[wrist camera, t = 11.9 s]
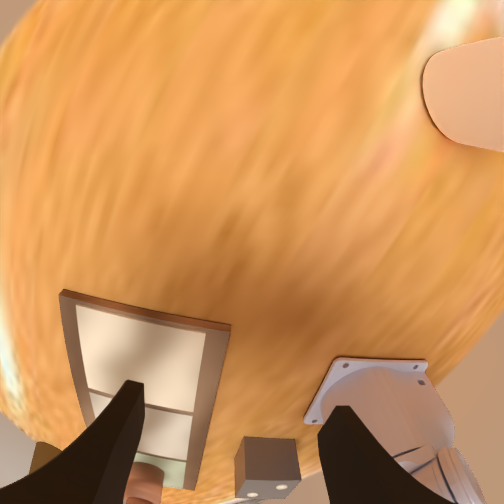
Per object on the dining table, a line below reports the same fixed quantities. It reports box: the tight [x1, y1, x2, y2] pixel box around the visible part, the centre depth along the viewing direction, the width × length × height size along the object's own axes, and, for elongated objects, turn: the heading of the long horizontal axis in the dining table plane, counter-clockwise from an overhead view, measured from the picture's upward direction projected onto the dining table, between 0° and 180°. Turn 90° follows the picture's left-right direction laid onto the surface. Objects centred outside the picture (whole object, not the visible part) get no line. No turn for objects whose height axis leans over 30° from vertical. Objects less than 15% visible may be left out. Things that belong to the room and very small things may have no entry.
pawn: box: [124, 462, 165, 504], centre depth 23 cm, size 4×4×6 cm
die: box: [235, 436, 301, 499], centre depth 24 cm, size 5×5×5 cm
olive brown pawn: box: [29, 442, 62, 474], centre depth 23 cm, size 6×6×11 cm
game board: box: [59, 289, 230, 490], centre depth 23 cm, size 12×27×1 cm, turn 168°
